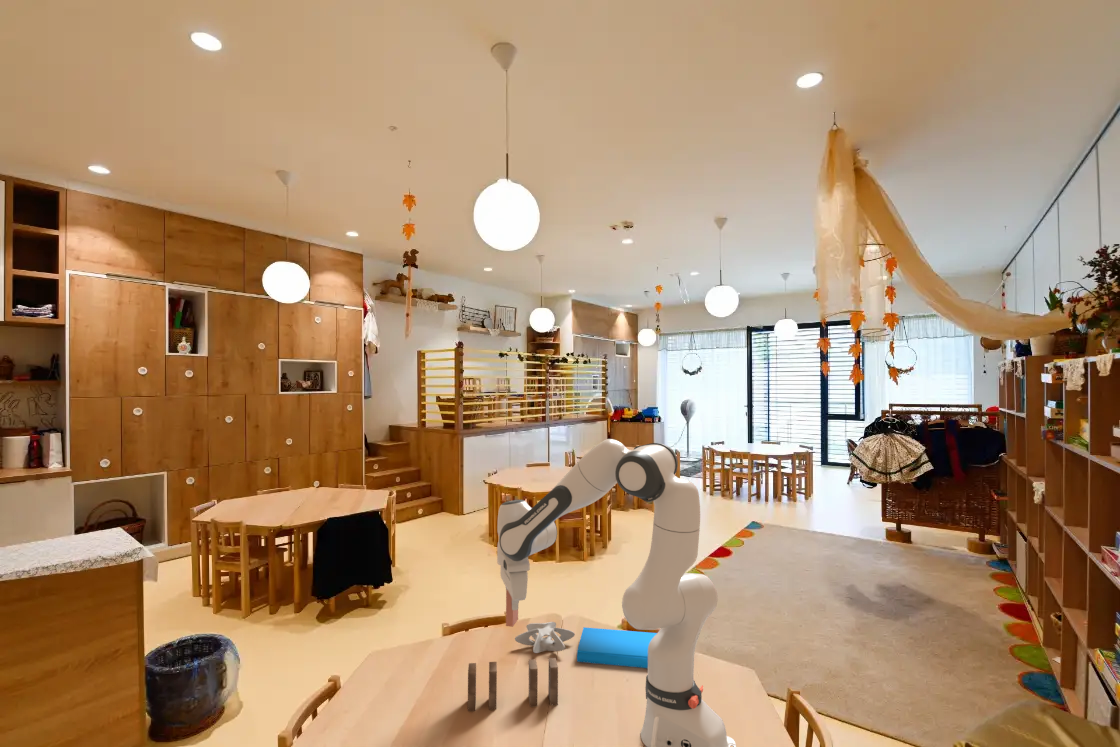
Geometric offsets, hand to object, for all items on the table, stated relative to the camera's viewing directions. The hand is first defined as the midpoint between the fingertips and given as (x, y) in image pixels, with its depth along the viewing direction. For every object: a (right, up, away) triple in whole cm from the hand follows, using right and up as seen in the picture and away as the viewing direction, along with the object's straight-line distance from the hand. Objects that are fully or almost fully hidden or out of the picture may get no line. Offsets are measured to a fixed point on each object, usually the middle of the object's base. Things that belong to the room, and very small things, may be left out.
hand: (512, 604), depth 156 cm
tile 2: (-4, -23, -10) cm, 25 cm away
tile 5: (+12, -23, -8) cm, 27 cm away
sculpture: (+9, -24, +23) cm, 34 cm away
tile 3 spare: (0, -5, 0) cm, 5 cm away
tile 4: (+6, -23, -8) cm, 25 cm away
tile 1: (-10, -23, -10) cm, 27 cm away
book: (+33, -24, +19) cm, 45 cm away
